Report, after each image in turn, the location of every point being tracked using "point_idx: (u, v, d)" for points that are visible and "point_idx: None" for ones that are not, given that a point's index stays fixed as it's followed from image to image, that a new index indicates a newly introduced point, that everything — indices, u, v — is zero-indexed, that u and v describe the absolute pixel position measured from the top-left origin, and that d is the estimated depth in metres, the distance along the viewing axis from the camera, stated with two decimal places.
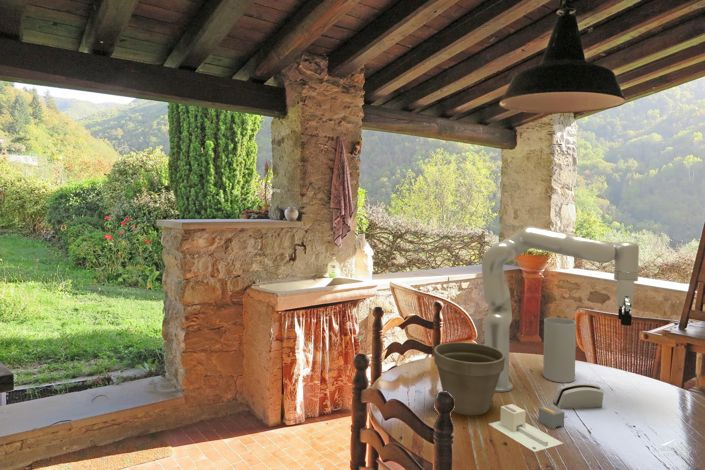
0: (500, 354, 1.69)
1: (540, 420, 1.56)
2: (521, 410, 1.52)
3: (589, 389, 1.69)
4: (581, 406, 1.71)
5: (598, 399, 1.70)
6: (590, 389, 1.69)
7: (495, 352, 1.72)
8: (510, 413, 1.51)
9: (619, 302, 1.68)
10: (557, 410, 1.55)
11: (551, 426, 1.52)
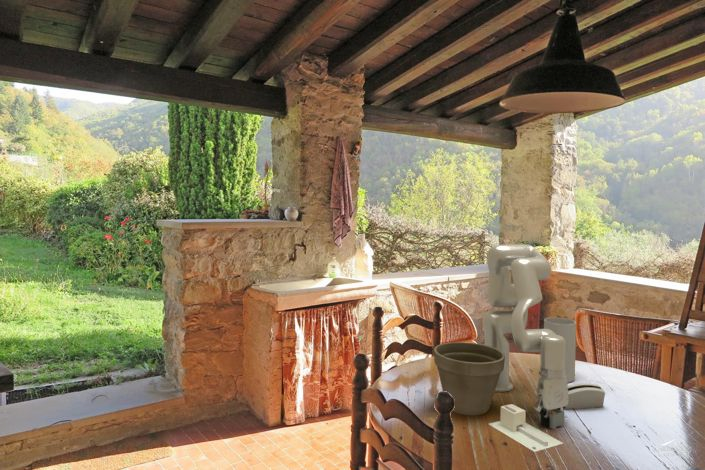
0: (500, 354, 1.69)
1: (540, 420, 1.56)
2: (521, 410, 1.52)
3: (591, 389, 1.69)
4: (583, 406, 1.71)
5: (599, 399, 1.71)
6: (592, 389, 1.69)
7: (495, 352, 1.72)
8: (510, 413, 1.51)
9: None
10: (557, 410, 1.55)
11: (551, 426, 1.52)
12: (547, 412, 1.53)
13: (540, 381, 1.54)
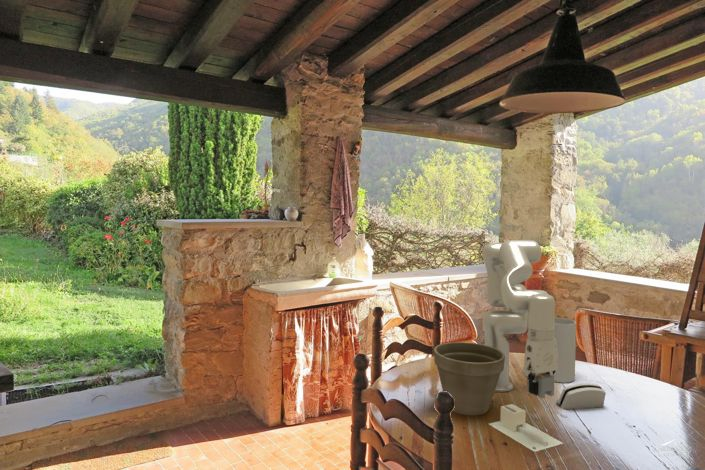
0: (500, 354, 1.69)
1: (528, 386, 1.46)
2: (521, 410, 1.52)
3: (592, 389, 1.69)
4: (584, 406, 1.71)
5: (600, 399, 1.71)
6: (593, 389, 1.69)
7: (495, 352, 1.72)
8: (510, 413, 1.51)
9: None
10: (546, 375, 1.45)
11: (540, 391, 1.42)
12: (536, 376, 1.42)
13: (528, 343, 1.43)
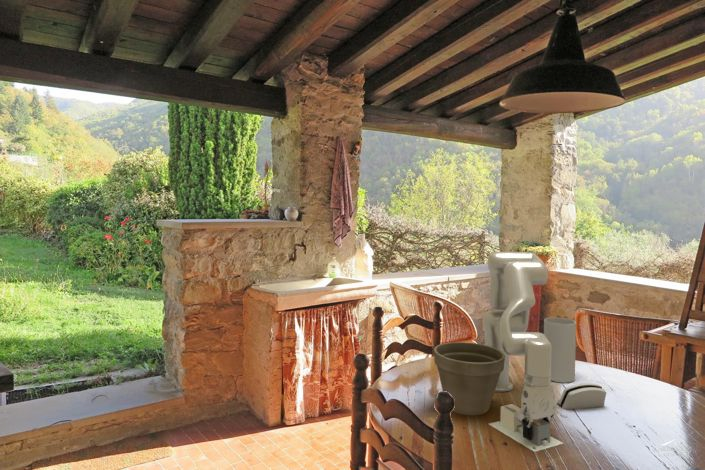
0: (500, 354, 1.69)
1: None
2: None
3: (593, 389, 1.69)
4: (585, 406, 1.71)
5: (601, 398, 1.71)
6: (594, 389, 1.69)
7: (495, 352, 1.72)
8: (510, 413, 1.51)
9: None
10: (543, 421, 1.44)
11: (536, 439, 1.41)
12: (530, 421, 1.41)
13: (524, 388, 1.43)
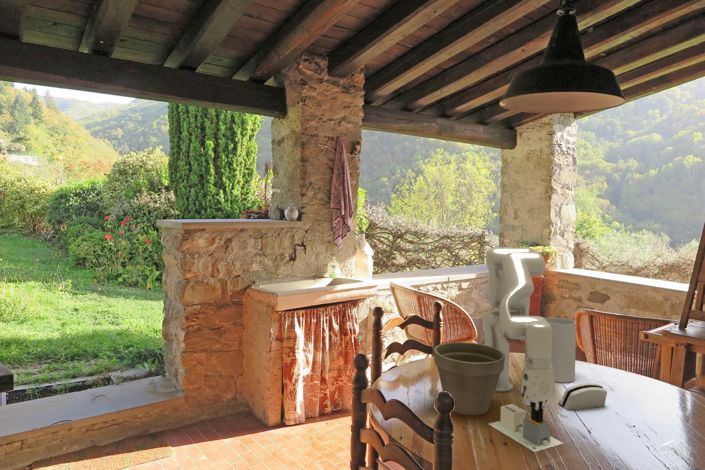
0: (500, 354, 1.69)
1: (525, 432, 1.46)
2: (521, 410, 1.52)
3: (594, 389, 1.69)
4: (586, 406, 1.71)
5: (602, 398, 1.71)
6: (595, 389, 1.69)
7: (495, 352, 1.72)
8: (510, 413, 1.51)
9: None
10: (543, 421, 1.44)
11: (536, 439, 1.41)
12: (536, 404, 1.42)
13: (524, 371, 1.42)
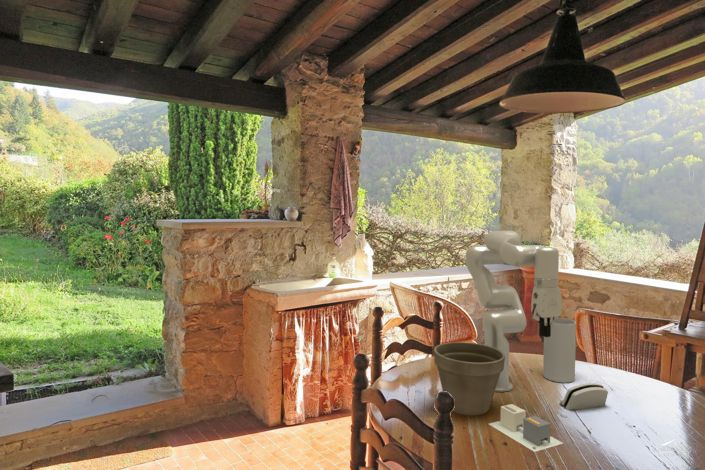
0: (500, 354, 1.69)
1: (525, 432, 1.46)
2: (521, 410, 1.52)
3: (596, 389, 1.69)
4: (587, 406, 1.71)
5: (603, 398, 1.72)
6: (597, 388, 1.69)
7: (495, 352, 1.72)
8: (510, 413, 1.51)
9: None
10: (543, 421, 1.44)
11: (536, 439, 1.41)
12: (545, 320, 1.59)
13: (534, 291, 1.59)
